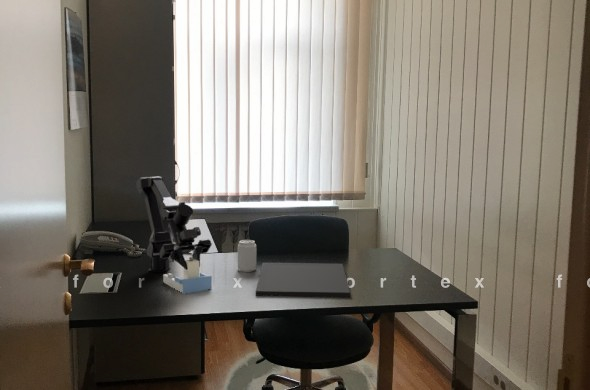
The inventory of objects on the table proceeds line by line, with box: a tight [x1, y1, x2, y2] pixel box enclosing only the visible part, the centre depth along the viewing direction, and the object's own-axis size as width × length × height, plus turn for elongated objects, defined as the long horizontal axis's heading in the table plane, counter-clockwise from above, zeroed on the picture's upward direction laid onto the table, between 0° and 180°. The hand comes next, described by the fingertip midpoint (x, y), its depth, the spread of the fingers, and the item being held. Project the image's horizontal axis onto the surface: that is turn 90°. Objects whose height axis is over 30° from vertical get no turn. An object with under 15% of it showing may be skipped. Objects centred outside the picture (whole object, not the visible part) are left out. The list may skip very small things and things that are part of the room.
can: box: [237, 239, 257, 273], centre depth 253 cm, size 8×8×12 cm
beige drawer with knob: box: [183, 256, 200, 279], centre depth 227 cm, size 4×4×10 cm
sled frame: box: [162, 272, 213, 295], centre depth 230 cm, size 18×11×5 cm, turn 35°
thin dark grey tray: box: [255, 262, 351, 299], centre depth 239 cm, size 40×2×33 cm
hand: (193, 268), depth 225 cm, fingers closed on beige drawer with knob, 4 cm apart
